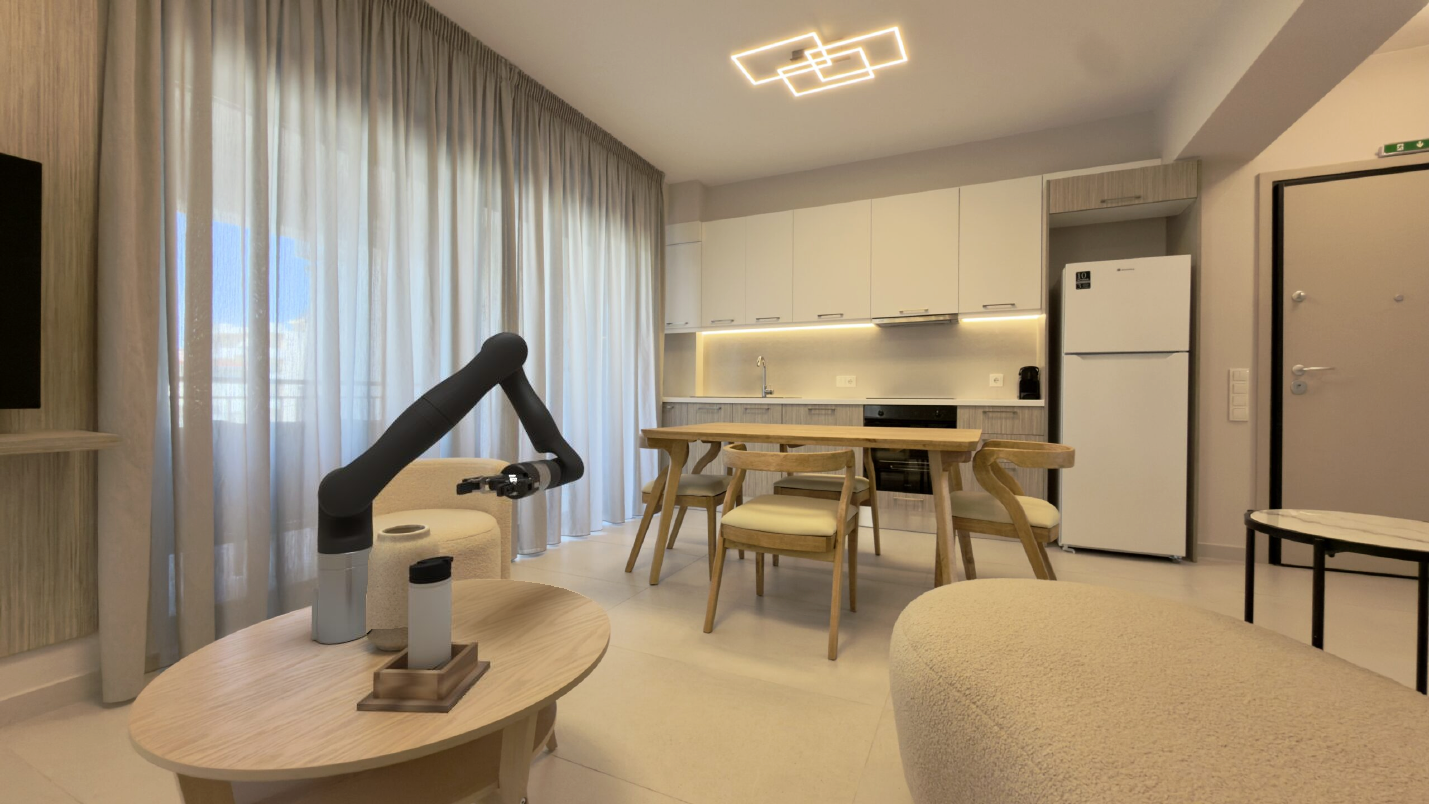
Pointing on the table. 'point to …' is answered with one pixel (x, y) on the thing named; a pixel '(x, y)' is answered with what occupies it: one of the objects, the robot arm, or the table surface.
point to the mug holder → (425, 682)
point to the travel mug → (430, 614)
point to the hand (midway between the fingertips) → (478, 490)
